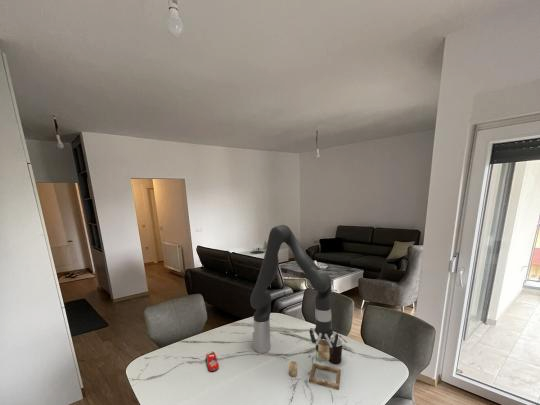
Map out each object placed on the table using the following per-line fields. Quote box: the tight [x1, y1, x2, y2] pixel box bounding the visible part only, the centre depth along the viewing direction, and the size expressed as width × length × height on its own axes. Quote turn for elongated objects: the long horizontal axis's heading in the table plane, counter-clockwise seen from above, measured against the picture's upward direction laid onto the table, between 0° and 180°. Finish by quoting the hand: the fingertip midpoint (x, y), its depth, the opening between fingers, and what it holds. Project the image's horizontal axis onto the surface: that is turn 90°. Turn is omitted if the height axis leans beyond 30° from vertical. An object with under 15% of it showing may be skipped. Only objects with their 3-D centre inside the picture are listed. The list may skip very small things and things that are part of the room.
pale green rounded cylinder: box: [315, 350, 326, 363], centre depth 123 cm, size 4×4×5 cm
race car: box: [205, 351, 220, 373], centre depth 122 cm, size 13×5×4 cm, turn 23°
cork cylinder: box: [288, 360, 298, 378], centre depth 113 cm, size 4×4×5 cm
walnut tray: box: [308, 362, 342, 391], centre depth 111 cm, size 14×12×2 cm
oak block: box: [318, 339, 330, 361], centre depth 111 cm, size 5×5×6 cm
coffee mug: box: [328, 336, 344, 366], centre depth 124 cm, size 12×9×10 cm
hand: (324, 352), depth 111 cm, fingers closed on oak block, 5 cm apart
